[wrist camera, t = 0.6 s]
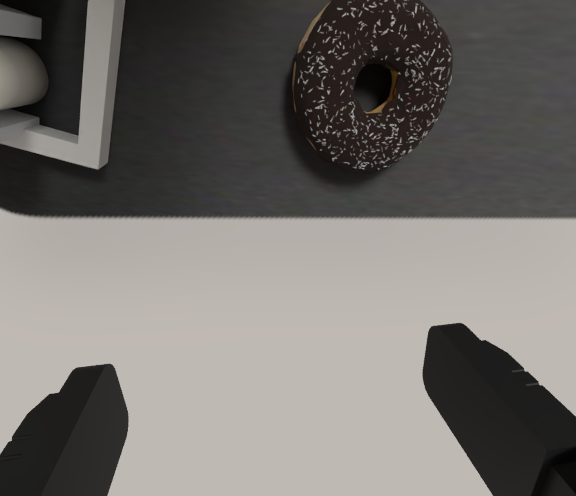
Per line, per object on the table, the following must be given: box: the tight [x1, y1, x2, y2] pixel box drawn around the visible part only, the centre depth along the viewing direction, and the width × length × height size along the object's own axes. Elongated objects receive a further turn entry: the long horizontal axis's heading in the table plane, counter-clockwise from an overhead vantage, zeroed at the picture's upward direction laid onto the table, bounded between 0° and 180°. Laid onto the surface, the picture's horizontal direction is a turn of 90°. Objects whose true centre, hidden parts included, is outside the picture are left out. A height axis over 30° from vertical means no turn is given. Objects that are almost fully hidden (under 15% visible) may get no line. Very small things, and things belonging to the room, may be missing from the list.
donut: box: [292, 0, 452, 173], centre depth 25 cm, size 11×12×4 cm
